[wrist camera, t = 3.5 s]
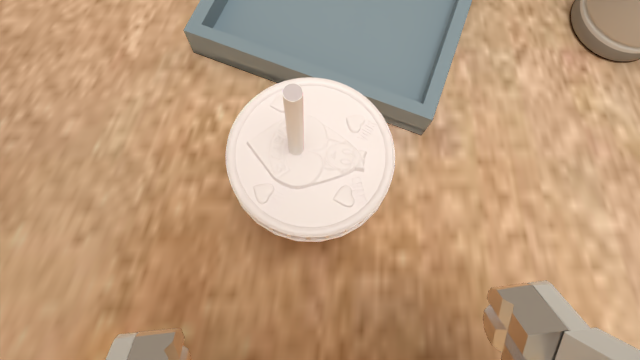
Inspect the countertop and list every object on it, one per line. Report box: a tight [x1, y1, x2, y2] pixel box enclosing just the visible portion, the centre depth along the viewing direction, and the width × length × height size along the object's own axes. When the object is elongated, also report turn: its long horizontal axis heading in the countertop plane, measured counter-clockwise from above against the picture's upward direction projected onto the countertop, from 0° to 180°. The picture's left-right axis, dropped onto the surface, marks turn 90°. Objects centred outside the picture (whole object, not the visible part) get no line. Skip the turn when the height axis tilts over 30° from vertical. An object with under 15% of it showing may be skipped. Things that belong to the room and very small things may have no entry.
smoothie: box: [226, 77, 395, 242], centre depth 17 cm, size 6×6×14 cm
